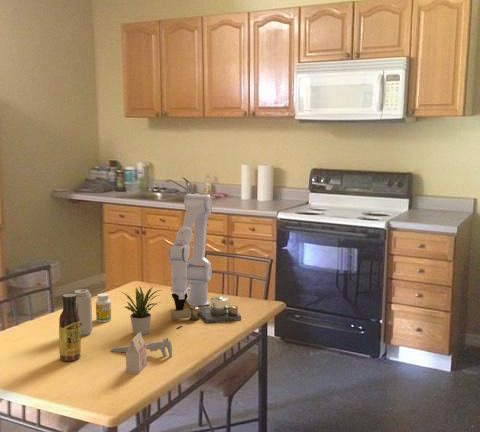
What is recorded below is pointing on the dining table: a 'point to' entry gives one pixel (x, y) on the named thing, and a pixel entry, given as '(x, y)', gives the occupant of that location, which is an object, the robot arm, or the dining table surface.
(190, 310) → the ball-topped bar
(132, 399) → the dining table surface
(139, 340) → the paper snack bag
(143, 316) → the house plant
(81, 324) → the energy drink can
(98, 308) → the supplement bottle
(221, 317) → the levelling base
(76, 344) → the sauce bottle
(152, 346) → the caliper
